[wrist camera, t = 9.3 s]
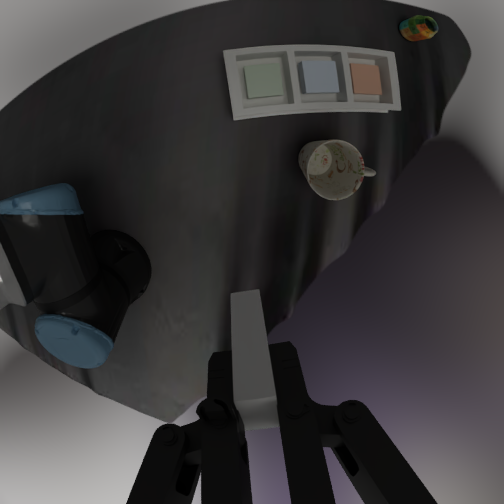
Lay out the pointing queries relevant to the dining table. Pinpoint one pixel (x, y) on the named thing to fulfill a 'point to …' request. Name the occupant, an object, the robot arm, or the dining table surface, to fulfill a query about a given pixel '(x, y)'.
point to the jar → (418, 28)
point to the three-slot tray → (291, 81)
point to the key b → (318, 77)
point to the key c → (365, 79)
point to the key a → (263, 80)
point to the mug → (333, 168)
